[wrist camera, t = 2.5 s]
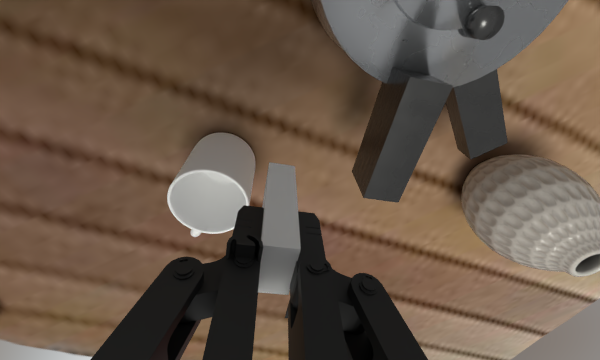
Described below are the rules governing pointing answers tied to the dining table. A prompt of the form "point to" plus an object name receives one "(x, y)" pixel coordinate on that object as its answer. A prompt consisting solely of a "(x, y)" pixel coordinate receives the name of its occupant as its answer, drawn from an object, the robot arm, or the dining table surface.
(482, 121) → the pot
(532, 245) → the vase
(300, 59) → the dining table surface
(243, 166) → the cup
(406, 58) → the lid
